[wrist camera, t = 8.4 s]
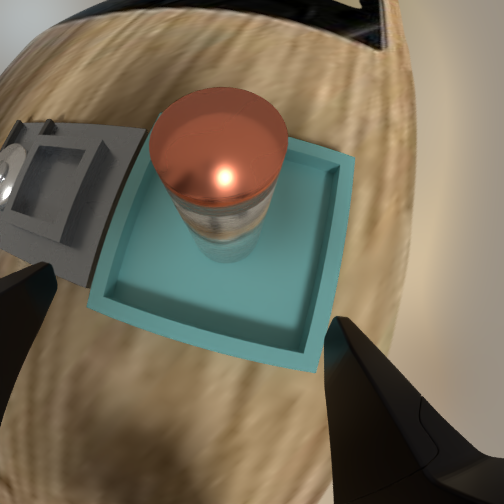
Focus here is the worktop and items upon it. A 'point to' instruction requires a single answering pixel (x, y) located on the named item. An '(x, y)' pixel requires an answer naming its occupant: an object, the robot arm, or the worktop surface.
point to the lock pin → (220, 166)
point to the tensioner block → (63, 192)
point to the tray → (232, 265)
